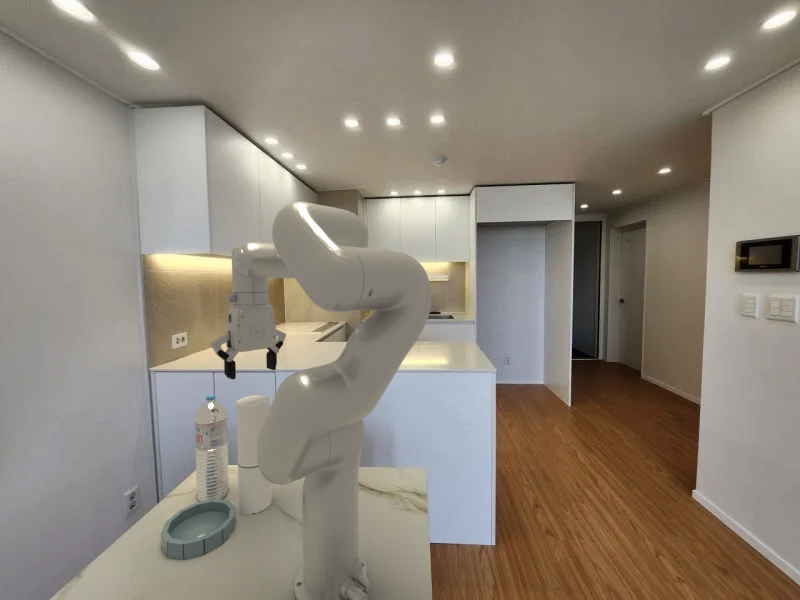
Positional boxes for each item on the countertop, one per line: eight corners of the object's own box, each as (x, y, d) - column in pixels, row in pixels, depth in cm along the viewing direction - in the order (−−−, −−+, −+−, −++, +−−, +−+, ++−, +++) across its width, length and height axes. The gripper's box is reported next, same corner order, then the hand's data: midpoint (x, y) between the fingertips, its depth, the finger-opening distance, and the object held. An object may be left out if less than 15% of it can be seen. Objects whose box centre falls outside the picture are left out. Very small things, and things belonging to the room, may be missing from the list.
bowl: (246, 530, 72) (246, 516, 71) (176, 570, 62) (175, 555, 61) (219, 504, 80) (219, 492, 80) (153, 536, 70) (153, 522, 70)
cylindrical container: (277, 495, 83) (275, 395, 82) (262, 515, 76) (260, 406, 75) (249, 493, 84) (247, 394, 82) (232, 513, 77) (229, 405, 75)
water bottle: (200, 490, 85) (197, 393, 84) (230, 484, 87) (227, 389, 86) (194, 507, 79) (190, 402, 77) (227, 501, 81) (224, 398, 80)
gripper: (218, 302, 68) (220, 385, 69) (293, 299, 82) (293, 368, 83) (203, 300, 73) (205, 378, 74) (276, 297, 86) (277, 363, 88)
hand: (252, 373), depth 78 cm, fingers open, 9 cm apart
